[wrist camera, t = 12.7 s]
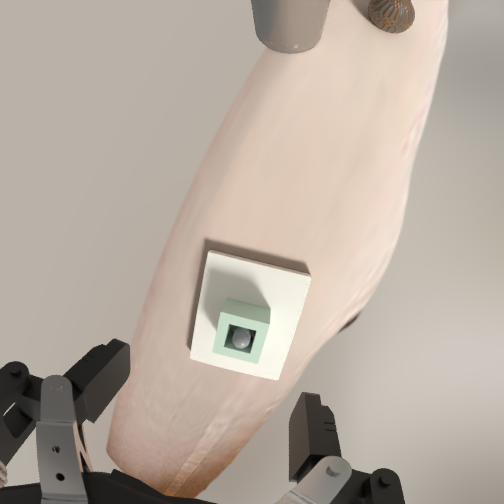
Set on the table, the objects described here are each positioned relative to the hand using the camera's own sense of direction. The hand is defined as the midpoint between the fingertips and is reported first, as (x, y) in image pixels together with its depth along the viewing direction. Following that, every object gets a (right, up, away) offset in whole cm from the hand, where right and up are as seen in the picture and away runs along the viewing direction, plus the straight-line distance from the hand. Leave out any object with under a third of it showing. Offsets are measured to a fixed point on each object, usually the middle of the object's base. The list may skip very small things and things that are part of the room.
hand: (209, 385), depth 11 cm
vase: (+22, +41, +15) cm, 49 cm away
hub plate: (+1, -3, +25) cm, 25 cm away
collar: (+1, -3, +24) cm, 24 cm away
